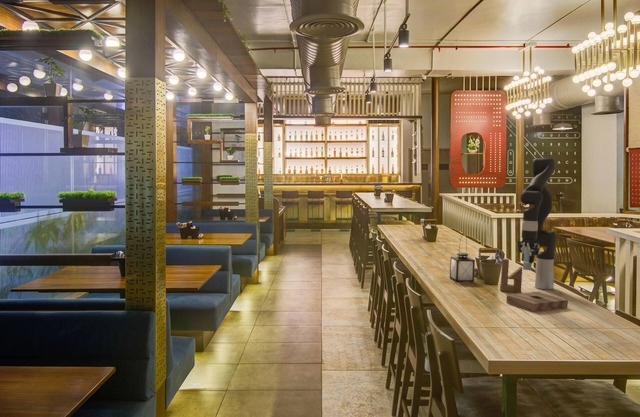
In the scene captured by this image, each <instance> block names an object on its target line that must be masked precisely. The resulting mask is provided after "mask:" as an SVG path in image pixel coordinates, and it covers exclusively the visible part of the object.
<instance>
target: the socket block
mask: <svg viewBox="0 0 640 417" xmlns="http://www.w3.org/2000/svg"><path fill="white" fill-rule="evenodd" d="M506 304H510V305H513V306H516V307H517V308H520V309H524V310H526V311H529V312H530V311H531V312H532V313H538V312H545V311H553V310H554V311H555V310H561V309H568V306H569V299H565V298H563V297H560V296H555V295H552V294H548V293H546V292H542V291H530V292H529V291H528V292H522V293H521V292H519V293H512V294H511V293H510V294H506Z"/></svg>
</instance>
